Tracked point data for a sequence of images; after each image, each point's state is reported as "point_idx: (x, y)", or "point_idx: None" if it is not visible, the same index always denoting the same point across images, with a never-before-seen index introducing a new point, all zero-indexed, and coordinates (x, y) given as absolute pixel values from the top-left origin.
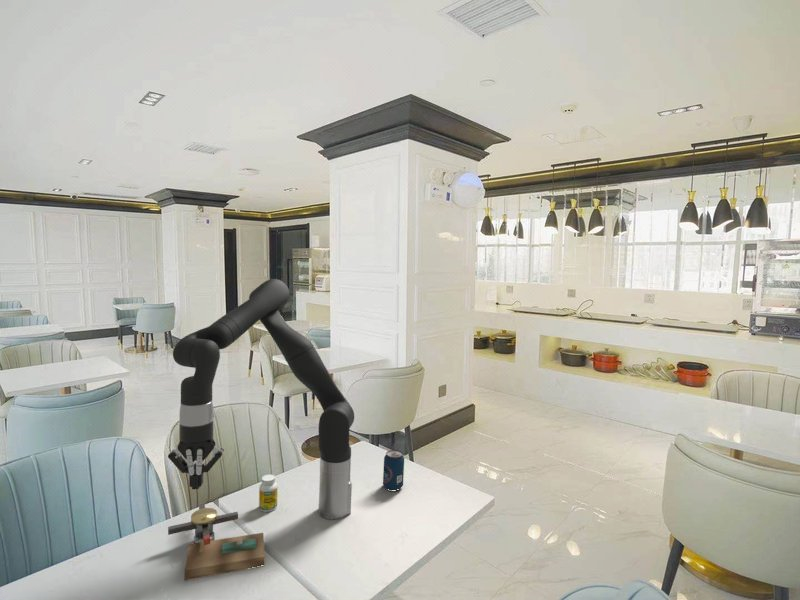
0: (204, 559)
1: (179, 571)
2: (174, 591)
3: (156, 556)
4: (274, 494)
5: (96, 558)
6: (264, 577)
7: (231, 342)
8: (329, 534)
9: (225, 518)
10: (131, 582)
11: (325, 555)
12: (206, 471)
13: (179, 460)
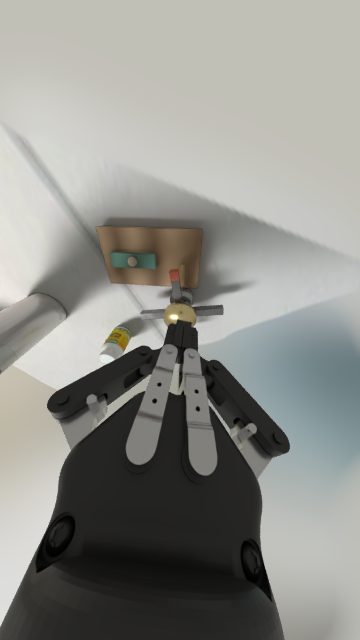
0: (177, 248)
1: (208, 251)
2: (214, 206)
3: (232, 289)
4: (107, 339)
5: (291, 305)
6: (97, 196)
7: None
8: (37, 267)
9: (155, 312)
10: (263, 247)
11: (25, 222)
12: (144, 348)
13: (234, 408)
